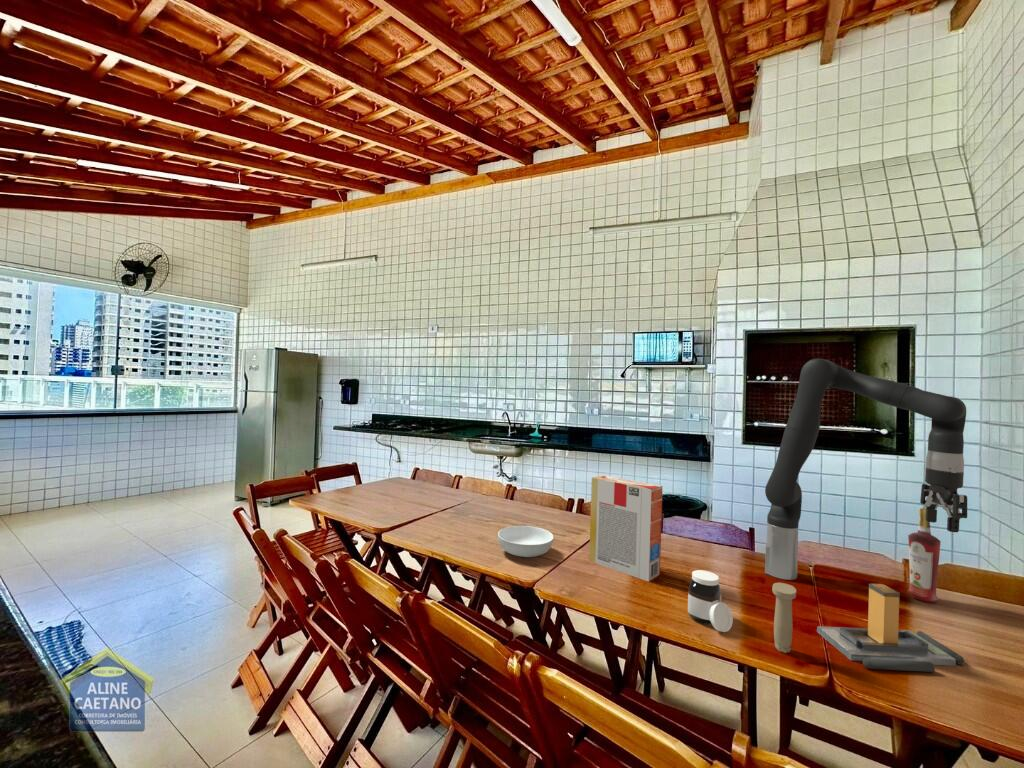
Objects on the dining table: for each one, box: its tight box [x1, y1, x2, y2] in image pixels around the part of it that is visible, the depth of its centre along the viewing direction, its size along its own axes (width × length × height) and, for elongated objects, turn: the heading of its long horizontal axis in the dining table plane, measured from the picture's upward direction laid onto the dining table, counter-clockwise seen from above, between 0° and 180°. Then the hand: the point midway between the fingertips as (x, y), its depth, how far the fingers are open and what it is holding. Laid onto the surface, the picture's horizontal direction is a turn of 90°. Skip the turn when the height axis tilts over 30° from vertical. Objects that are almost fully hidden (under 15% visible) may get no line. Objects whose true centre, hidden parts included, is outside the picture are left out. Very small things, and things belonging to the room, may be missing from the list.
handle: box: [771, 582, 797, 654], centre depth 107 cm, size 5×6×15 cm
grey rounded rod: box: [862, 659, 936, 673], centre depth 100 cm, size 15×2×2 cm, turn 88°
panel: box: [816, 625, 957, 667], centre depth 109 cm, size 24×12×3 cm, turn 88°
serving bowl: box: [497, 525, 555, 558], centre depth 164 cm, size 21×21×7 cm
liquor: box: [907, 507, 941, 603], centre depth 136 cm, size 7×7×28 cm
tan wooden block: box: [867, 583, 901, 644], centre depth 109 cm, size 4×5×13 cm
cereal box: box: [588, 474, 663, 583], centre depth 153 cm, size 23×8×30 cm, turn 46°
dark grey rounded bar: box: [915, 630, 965, 665], centre depth 108 cm, size 11×2×2 cm, turn 178°
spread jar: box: [687, 569, 733, 633], centre depth 119 cm, size 12×11×12 cm
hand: (941, 526), depth 121 cm, fingers open, 8 cm apart
